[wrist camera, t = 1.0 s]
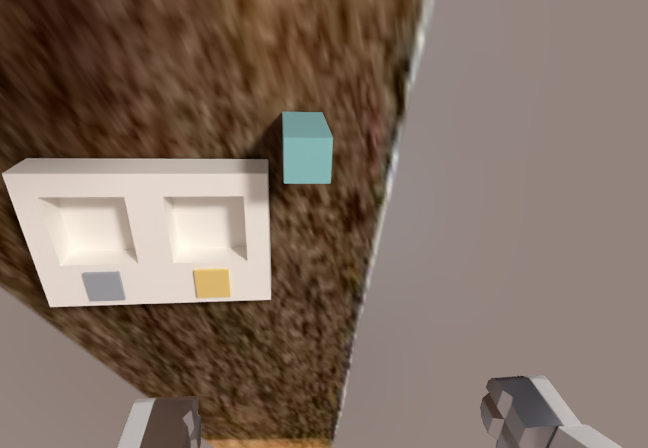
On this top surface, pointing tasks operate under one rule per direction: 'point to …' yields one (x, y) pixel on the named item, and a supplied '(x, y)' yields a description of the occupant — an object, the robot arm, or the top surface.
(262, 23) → the top surface
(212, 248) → the socket block
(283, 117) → the plug
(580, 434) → the robot arm
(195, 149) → the top surface
